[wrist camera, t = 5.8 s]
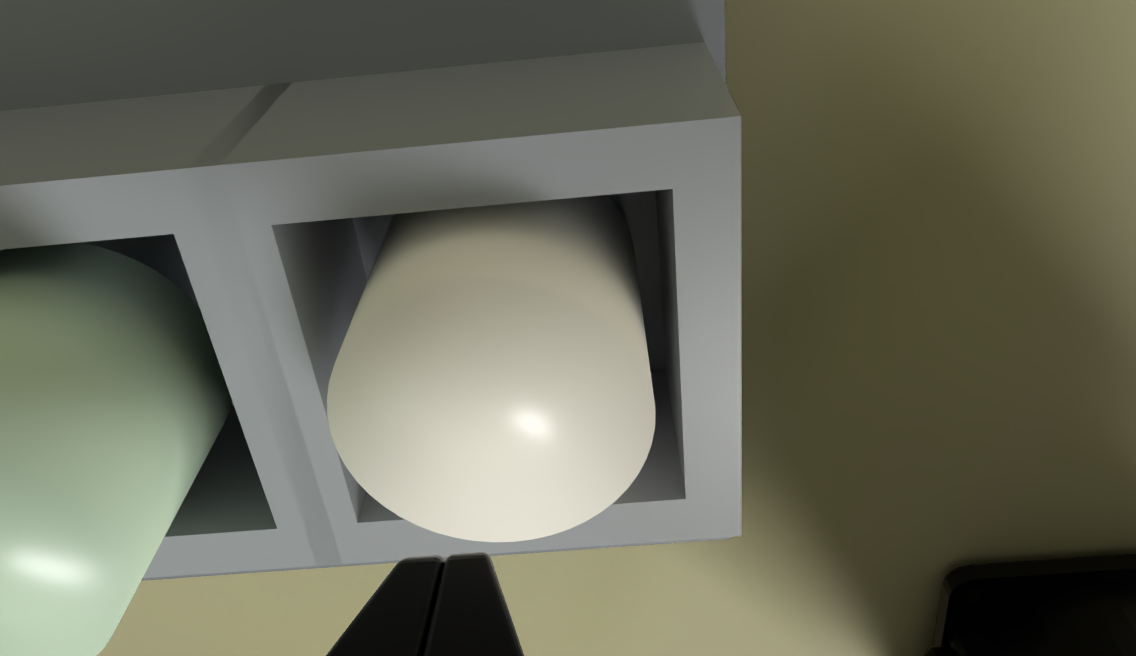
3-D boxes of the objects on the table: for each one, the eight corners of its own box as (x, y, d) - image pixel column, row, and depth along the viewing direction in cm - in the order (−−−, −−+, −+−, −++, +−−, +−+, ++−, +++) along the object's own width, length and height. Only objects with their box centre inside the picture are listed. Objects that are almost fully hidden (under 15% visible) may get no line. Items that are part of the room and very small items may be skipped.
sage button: (183, 227, 12) (35, 406, 9) (264, 461, 14) (168, 678, 11) (-104, 254, 12) (-358, 436, 9) (16, 480, 15) (-155, 699, 11)
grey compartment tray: (710, -230, 12) (773, -230, 9) (721, 497, 19) (759, 680, 15) (-597, -82, 13) (-1064, -22, 10) (-152, 561, 20) (-322, 748, 16)
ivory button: (627, 138, 14) (646, 262, 10) (642, 364, 16) (662, 531, 12) (359, 163, 14) (290, 293, 10) (409, 382, 16) (365, 552, 12)
